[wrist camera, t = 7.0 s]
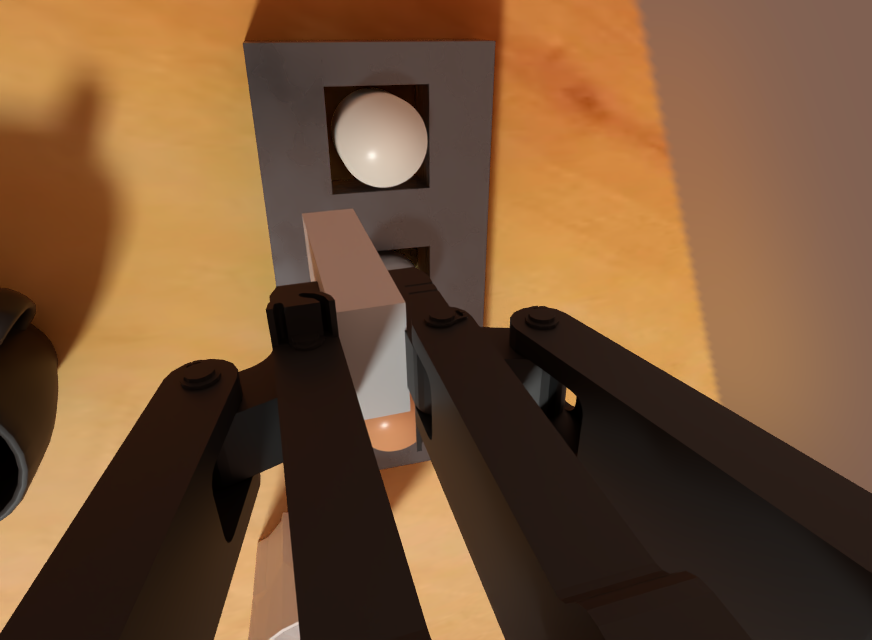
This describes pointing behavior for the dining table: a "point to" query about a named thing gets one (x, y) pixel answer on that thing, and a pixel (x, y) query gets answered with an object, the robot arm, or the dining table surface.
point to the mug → (23, 397)
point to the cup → (274, 588)
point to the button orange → (393, 430)
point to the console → (374, 206)
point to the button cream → (379, 137)
